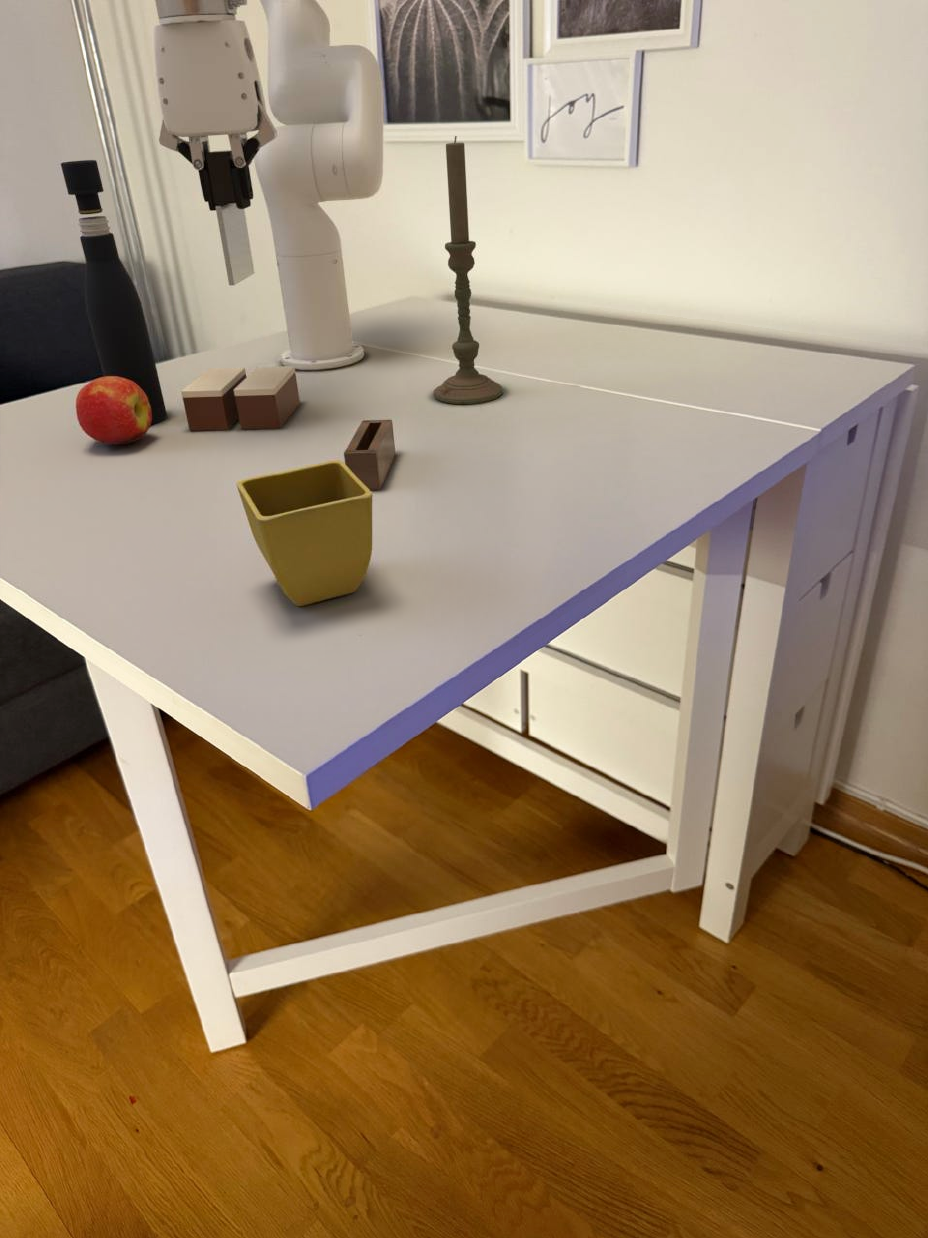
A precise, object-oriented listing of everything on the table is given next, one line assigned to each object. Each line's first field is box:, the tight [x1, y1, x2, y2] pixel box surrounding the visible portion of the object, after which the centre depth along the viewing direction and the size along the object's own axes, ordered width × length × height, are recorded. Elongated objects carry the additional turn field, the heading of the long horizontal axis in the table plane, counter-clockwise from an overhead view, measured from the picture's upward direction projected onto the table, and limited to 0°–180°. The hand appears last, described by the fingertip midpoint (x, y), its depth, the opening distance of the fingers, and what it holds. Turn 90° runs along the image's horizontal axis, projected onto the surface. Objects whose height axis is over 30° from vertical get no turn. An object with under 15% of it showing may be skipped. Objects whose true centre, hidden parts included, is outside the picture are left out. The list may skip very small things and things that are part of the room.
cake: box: [180, 367, 247, 432], centre depth 114 cm, size 10×5×5 cm, turn 175°
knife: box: [206, 149, 255, 286], centre depth 99 cm, size 8×2×13 cm, turn 175°
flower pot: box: [235, 459, 373, 607], centre depth 71 cm, size 9×9×9 cm
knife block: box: [343, 419, 396, 491], centre depth 95 cm, size 10×3×4 cm, turn 175°
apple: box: [75, 376, 152, 446], centre depth 107 cm, size 8×8×8 cm
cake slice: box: [234, 365, 301, 431], centre depth 114 cm, size 10×5×5 cm, turn 175°
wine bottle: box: [60, 159, 168, 426], centre depth 109 cm, size 6×6×30 cm
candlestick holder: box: [433, 135, 504, 405], centre depth 111 cm, size 9×9×30 cm
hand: (230, 206), depth 99 cm, fingers closed on knife, 2 cm apart
